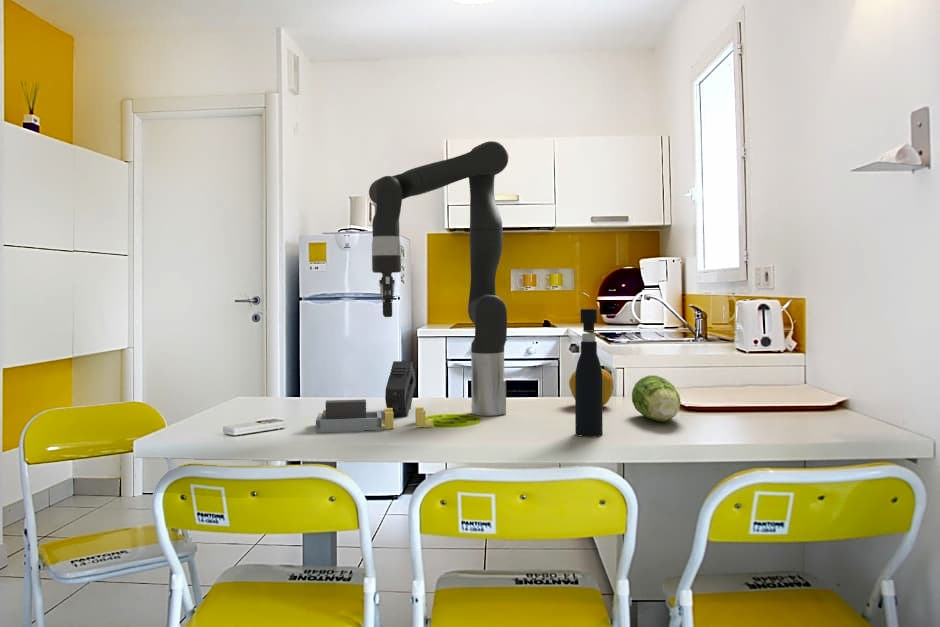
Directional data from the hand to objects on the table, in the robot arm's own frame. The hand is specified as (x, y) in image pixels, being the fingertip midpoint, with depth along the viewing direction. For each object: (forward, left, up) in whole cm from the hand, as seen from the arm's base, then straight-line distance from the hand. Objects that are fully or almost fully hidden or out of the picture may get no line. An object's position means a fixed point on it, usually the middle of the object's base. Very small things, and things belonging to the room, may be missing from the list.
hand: (387, 316), depth 184 cm
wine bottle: (-47, +24, -28) cm, 60 cm away
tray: (+10, +6, -28) cm, 30 cm away
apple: (-60, -14, -28) cm, 68 cm away
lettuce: (-70, +11, -28) cm, 76 cm away
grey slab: (+11, +6, -27) cm, 30 cm away
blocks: (-4, +6, -28) cm, 29 cm away
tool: (-4, -13, -28) cm, 31 cm away
